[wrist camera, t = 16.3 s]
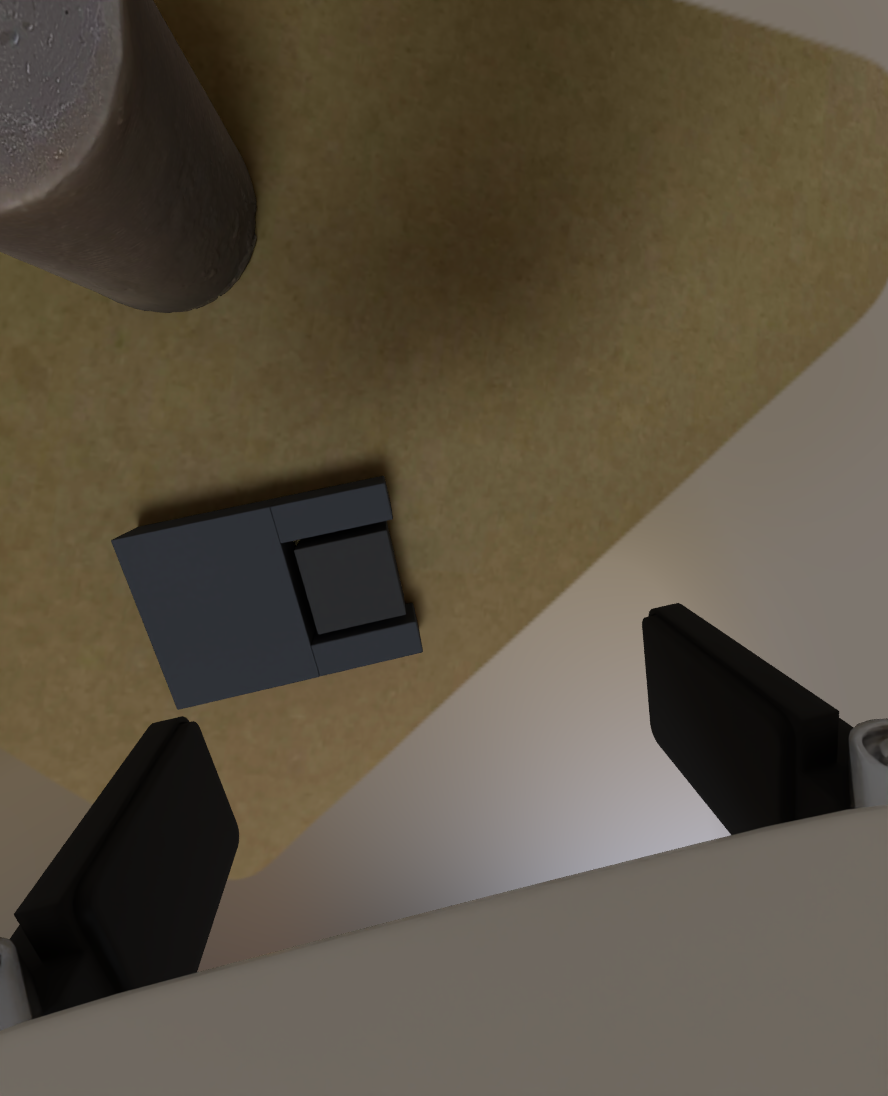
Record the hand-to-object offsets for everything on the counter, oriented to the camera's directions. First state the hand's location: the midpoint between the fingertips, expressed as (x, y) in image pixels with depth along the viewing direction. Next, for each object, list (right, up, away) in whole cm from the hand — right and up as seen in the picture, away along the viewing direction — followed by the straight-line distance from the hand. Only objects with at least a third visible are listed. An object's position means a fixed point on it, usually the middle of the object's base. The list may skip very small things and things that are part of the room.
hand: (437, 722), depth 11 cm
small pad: (-5, +2, +20) cm, 21 cm away
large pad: (-9, +2, +20) cm, 22 cm away
